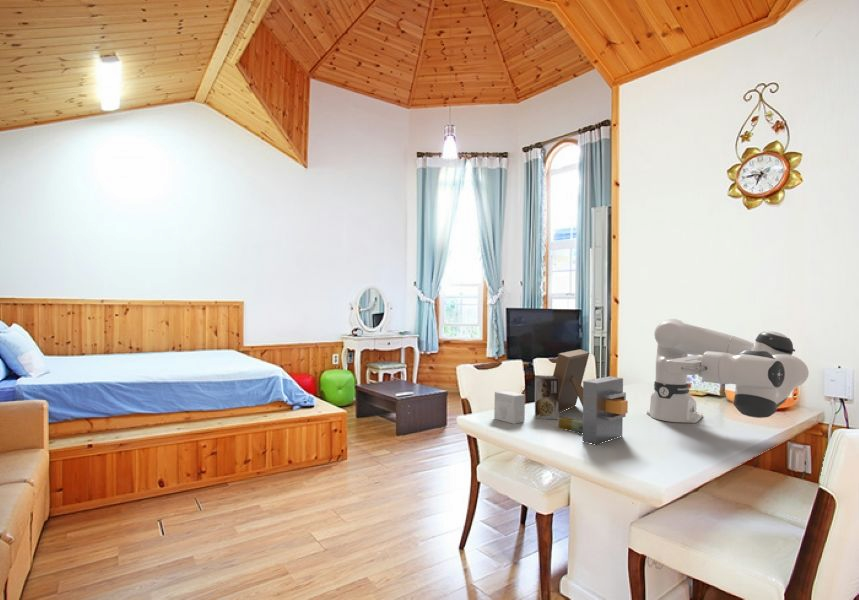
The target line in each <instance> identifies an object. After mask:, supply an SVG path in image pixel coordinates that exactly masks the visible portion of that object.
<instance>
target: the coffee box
mask: <svg viewBox="0 0 859 600" xmlns="http://www.w3.org/2000/svg"><path fill="white" fill-rule="evenodd" d="M559 415H560V413H559V378H558V376H553V375H542V374H541V375H536V374H535V375H534V418H535V419H536V418H538V419H540V420H559V418H560V416H559Z"/></svg>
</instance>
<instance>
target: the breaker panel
mask: <svg viewBox="0 0 859 600" xmlns="http://www.w3.org/2000/svg"><path fill="white" fill-rule="evenodd" d="M582 383H583V384H582V387H583V406H582V421H583V434H582V442H583V441H584V442H583V443H585V442H588V443H587V444H589V443H592V444H595V445H594V446H598V445H597V444H599V445H601V444H600V443H602V442H605V441H608V440H611V439H614V438H617V437H620V436H622V437H623V421H624V420H623V418H626V415H627V413H625V414H622V415H620V414H615V413H610V412H606V411H605V399H607V398H608V399H614V398H616V399H621V400H627V393H626V391H625V392H624V378H623V377H619V376H618V377H617V376H610V375H609V376H605V377H604V376H603V377H598V378H593V379H587V380H582ZM620 438H621V437H620ZM617 439H618V438H617ZM614 440H615V439H614ZM611 441H612V440H611ZM608 442H609V441H608ZM605 443H606V442H605ZM592 444H591V445H592ZM602 444H603V443H602Z"/></svg>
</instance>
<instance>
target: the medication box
mask: <svg viewBox="0 0 859 600" xmlns="http://www.w3.org/2000/svg"><path fill="white" fill-rule="evenodd" d="M561 428H563V429H562V430H565V429H567V430H566V431H569V430H571V431H570V432H572V431H575V432H574V433H576V432H579V433H578V434H580V433H583V420H578V419H573V418H569V417H565V416H561V417H560V416H559V419H558V429H561Z"/></svg>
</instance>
